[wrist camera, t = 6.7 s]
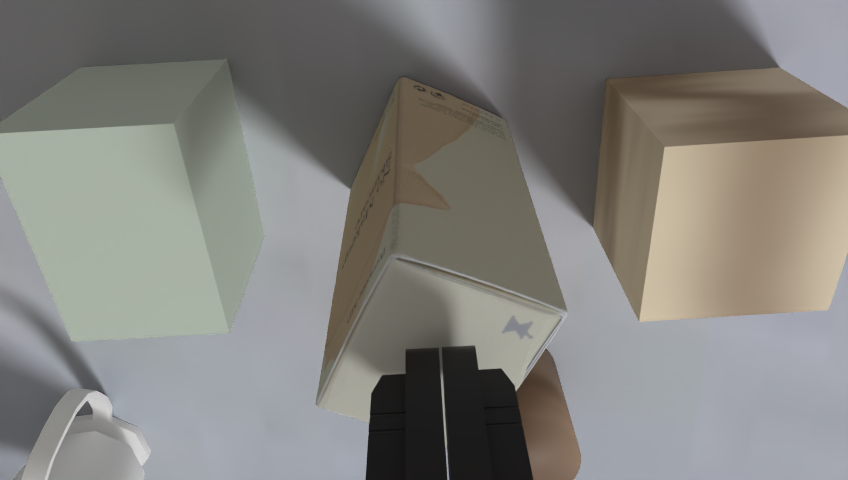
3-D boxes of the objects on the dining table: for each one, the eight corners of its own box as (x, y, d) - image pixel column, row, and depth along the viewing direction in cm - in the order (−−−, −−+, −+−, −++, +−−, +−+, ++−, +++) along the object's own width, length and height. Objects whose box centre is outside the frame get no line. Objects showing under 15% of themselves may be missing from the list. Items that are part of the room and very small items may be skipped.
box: (400, 71, 22) (396, 239, 13) (511, 119, 23) (583, 308, 14) (345, 196, 25) (309, 415, 15) (448, 235, 26) (473, 463, 16)
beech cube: (592, 226, 26) (638, 321, 21) (605, 78, 23) (664, 146, 18) (744, 216, 26) (828, 310, 21) (778, 66, 23) (887, 132, 17)
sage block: (138, 242, 26) (71, 341, 21) (80, 66, 22) (-18, 134, 17) (265, 235, 26) (229, 333, 21) (228, 58, 22) (173, 123, 17)
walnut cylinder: (481, 429, 32) (493, 521, 27) (425, 365, 29) (428, 454, 25) (574, 387, 30) (602, 476, 26) (523, 316, 28) (544, 401, 24)
